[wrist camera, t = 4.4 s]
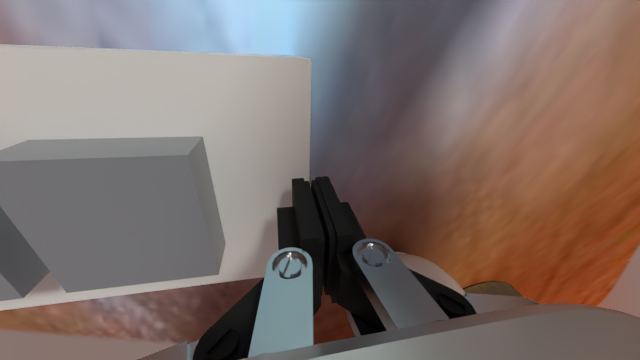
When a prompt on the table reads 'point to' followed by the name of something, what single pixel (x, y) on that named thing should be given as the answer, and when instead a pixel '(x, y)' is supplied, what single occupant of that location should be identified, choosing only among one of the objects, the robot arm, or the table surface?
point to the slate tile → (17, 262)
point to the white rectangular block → (173, 132)
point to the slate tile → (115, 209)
